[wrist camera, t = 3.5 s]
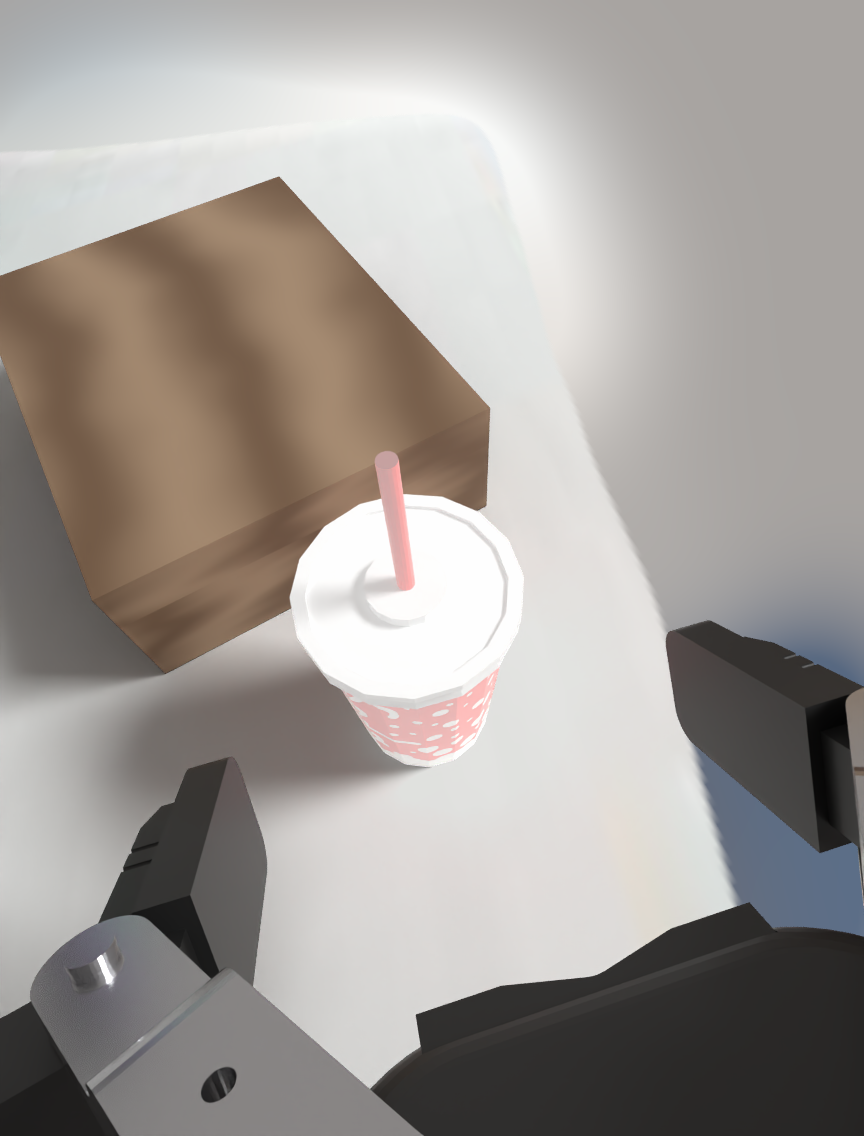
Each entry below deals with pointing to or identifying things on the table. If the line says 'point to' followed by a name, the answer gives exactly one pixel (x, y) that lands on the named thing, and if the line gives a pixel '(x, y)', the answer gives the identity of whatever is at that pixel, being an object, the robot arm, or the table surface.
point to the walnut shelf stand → (223, 409)
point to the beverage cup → (410, 616)
